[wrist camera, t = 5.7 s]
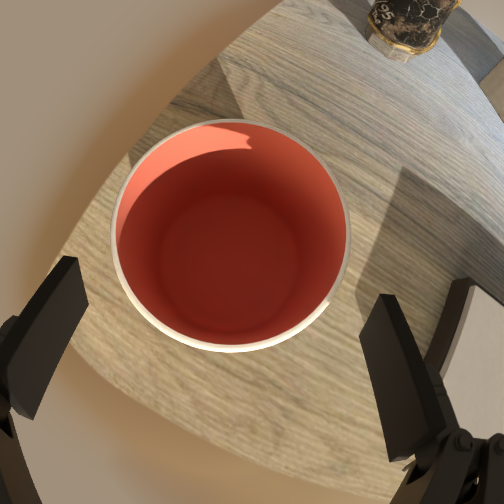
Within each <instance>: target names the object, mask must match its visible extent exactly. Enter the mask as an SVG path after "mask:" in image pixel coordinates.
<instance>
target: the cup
mask: <svg viewBox="0 0 504 504" xmlns="http://www.w3.org/2000/svg"><path fill="white" fill-rule="evenodd" d="M110 241H111V252H112V257H113V262H114V266H115V269H116V272H117V275H118V278H119V280H120V282H121V284H122V287H123V289H124V290H125V292H126V294H127V295H128V297H129V299H130V300H131V302H132V303H133V304H134V305H135V307H136V308H137V309H138V311H139V312H140V313H141V314H142V315H143V316H144V317H145V318H146V319H147V320H148V321H149V322H151V323H152V324H153V325H154V326H155V327H157V328H158V329H159V330H161V331H162V332H164V333H165V334H167V335H169V336H170V337H172V338H174V339H176V340H178V341H180V342H183V343H185V344H188V345H190V346H193V347H197V348H201V349H205V350H210V351H217V352H244V351H252V350H257V349H261V348H265V347H268V346H271V345H274V344H277V343H279V342H282V341H284V340H286V339H288V338H290V337H291V336H293V335H295V334H296V333H298V332H300V331H301V330H302V329H304V328H305V327H306V326H308V325H309V324H310V323H311V322H312V321H314V320H315V319H316V318H317V317H318V316H319V315H320V314H321V313H322V311H323V310H324V309H325V308H326V307H327V305H328V304H329V303H330V301H331V300H332V298H333V297H334V295H335V294H336V292H337V290H338V288H339V286H340V284H341V282H342V280H343V277H344V274H345V271H346V268H347V265H348V261H349V256H350V250H351V222H350V215H349V210H348V207H347V203H346V199H345V197H344V194H343V192H342V189H341V187H340V185H339V183H338V181H337V180H336V178H335V176H334V175H333V173H332V172H331V170H330V169H329V167H328V166H327V165H326V163H325V162H324V161H323V160H322V159H321V158H320V157H319V156H318V155H317V154H316V153H315V152H314V151H313V150H312V149H311V148H310V147H309V146H308V145H306V144H305V143H304V142H302V141H301V140H299V139H298V138H296V137H295V136H293V135H291V134H289V133H287V132H285V131H283V130H281V129H279V128H276V127H274V126H271V125H268V124H265V123H261V122H257V121H251V120H245V119H216V120H210V121H204V122H200V123H196V124H193V125H190V126H188V127H185V128H183V129H181V130H178V131H176V132H174V133H172V134H170V135H169V136H167V137H165V138H163V139H162V140H161V141H159V142H158V143H156V144H155V145H154V146H153V147H152V148H150V149H149V150H148V151H147V152H146V153H145V154H144V155H143V156H142V157H141V158H140V159H139V160H138V161H137V163H136V164H135V165H134V167H133V168H132V169H131V171H130V172H129V174H128V175H127V177H126V179H125V181H124V182H123V184H122V186H121V189H120V191H119V193H118V196H117V198H116V202H115V205H114V209H113V213H112V219H111V230H110Z"/></svg>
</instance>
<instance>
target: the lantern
mask: <svg viewBox="0 0 504 504" xmlns="http://www.w3.org/2000/svg"><path fill="white" fill-rule="evenodd" d="M461 2H462V0H375V2H374V4H373V6H372V8H371V11H370V13H369V15H368V17H367V20H368V21H369V26H368V27H367V30H366V36H367V40H368V42H369V43H370V44H371V45H372V46H374V47H375V48H376V49H377V50H379V51H380V52H381V53H382V54H384V55H385V56H386V57H387V58H389V59H392V60H396V61H399V62H402V63H406V62H407V61H409V60H411V59H413V58H414V57H415V56H416V55H420V54H423V53H425V52H427V51H429V50H430V49H432V48H433V47H434V45H435V44H436V43H437V41H438V39H439V36H440V33H441V27H442V25H443V24H444V22H445V20H446V19H447V17H448V16H449V14H450V12H451V11H452V10H453V9H455V8H456V7H458V6H459V4H460V3H461Z"/></svg>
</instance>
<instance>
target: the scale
mask: <svg viewBox="0 0 504 504" xmlns="http://www.w3.org/2000/svg"><path fill="white" fill-rule="evenodd" d="M424 363H425V364H432V365H433V366H434V367H435V368H436V369H437V371H438V372H439V373H440V375H441V378H442V380H443V383H444V387H445V388H446V391H447V395H448V396H449V398H450V401H451V404H452V407H453V409H454V412H455V415H456V418H457V421H458V424H459V426H460V428H463V429H466V430H467V431H469V432H470V433H471V435H472V436H473V438H481V439H489V438H490V437H491V436H493V435H494V434H496V433H502V434H504V304H503V303H502V302H501V301H499V300H498V299H497V298H496V297H494V296H493V295H492V294H491V293H489V292H488V291H487V290H486V289H484V288H483V287H482V286H481V285H479V284H478V283H477V282H475V281H474V280H473V279H472V278H470V277H467V278H463V279H458V280H454V281H452V285H451V288H450V291H449V294H448V297H447V300H446V303H445V306H444V309H443V312H442V315H441V318H440V321H439V324H438V326H437V329H436V332H435V334H434V337H433V339H432V342H431V344H430V347H429V349H428V352H427V354H426V356H425V359H424Z"/></svg>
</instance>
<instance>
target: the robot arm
mask: <svg viewBox="0 0 504 504" xmlns="http://www.w3.org/2000/svg"><path fill="white" fill-rule="evenodd" d="M88 305H89V303H88V300H87V296H86V292H85V288H84V284H83V280H82V275H81V271H80V266H79V262H78V258H77V257H70V256H63V257H62V258H61V259H60V261H59V262H58V263H57V264H56V266H55V267H54V268H53V270H52V271H51V272H50V273H49V275H48V276H47V277H46V279H45V280H44V281H43V283H42V284H41V285H40V287H39V288H38V290H37V291H36V293H35V294H34V295H33V297H32V298H31V299H30V301H29V302H28V304H27V305H26V306H25V308H24V309H23V311H22V312H21V314H20V315H19V317H18V316H14V315H13V316H12V317H10V318H9V319H8V320H7V321H5V322H4V323H3V325H2V326H1V328H0V504H42V502H41V500H40V498H39V496H38V493H37V490H36V488H35V486H34V483H33V481H32V478H31V476H30V473H29V470H28V467H27V465H26V462H25V459H24V456H23V453H22V450H21V447H20V444H19V440H18V437H17V433H16V430H15V426H14V423H13V419H12V416H11V414H10V412H9V411H10V409H11V407H13V409H14V410H15V411H16V412H17V413H18V414H19V415H22V416H24V417H26V418H28V419H31V420H33V419H34V417H35V414H36V412H37V410H38V407H39V405H40V403H41V400H42V398H43V396H44V393H45V391H46V389H47V386H48V384H49V382H50V380H51V378H52V376H53V373H54V371H55V369H56V367H57V365H58V363H59V361H60V359H61V357H62V354H63V353H64V350H65V348H66V347H67V345H68V343H69V341H70V339H71V337H72V335H73V333H74V331H75V329H76V327H77V325H78V323H79V322H80V320H81V318H82V316H83V314H84V312H85V311H86V309H87V307H88ZM359 339H360V342H361V346H362V349H363V353H364V356H365V360H366V364H367V368H368V371H369V375H370V379H371V383H372V387H373V391H374V395H375V399H376V403H377V407H378V411H379V416H380V420H381V425H382V429H383V434H384V438H385V443H386V448H387V453H388V458H389V462H395V461H401V460H406V459H407V458H409V457H410V456H412V455H413V454H415V458H416V459H415V460H414V461H413V462H411V463H410V464H408V465H407V466H405V467H404V469H403V470H402V471H403V472H404V471H406V470H407V469H409V470H408V472H407V474H406V476H405V478H404V480H403V481H402V483H401V485H400V487H399V489H398V490H397V492H396V494H395V495H394V497H393V499H392V500H391V502H390V504H504V434H502V433H496V434H494V435H493V436H491V437H490V438H489V439H481V438H473V436H472V435H471V433H470V432H469V431H467V430H466V429H463V428H460V426H459V424H458V421H457V418H456V415H455V412H454V409H453V407H452V404H451V401H450V398H449V396H448V395H447V391H446V388H445V387H444V383H443V380H442V378H441V375H440V373H439V372H438V371H437V369H436V368H435V367H434V366H433V365H432V364H425V363H424V361H423V358H422V356H421V354H420V351H419V349H418V346H417V344H416V341H415V339H414V337H413V334H412V332H411V330H410V327H409V325H408V323H407V321H406V318H405V316H404V314H403V312H402V310H401V307H400V305H399V303H398V301H397V299H396V297H395V295H391V294H380V295H379V297H378V299H377V301H376V303H375V305H374V307H373V309H372V311H371V313H370V316H369V318H368V320H367V322H366V324H365V326H364V328H363V330H362V331H361V333H360V335H359ZM477 478H479V481H478V484H477Z"/></svg>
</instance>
